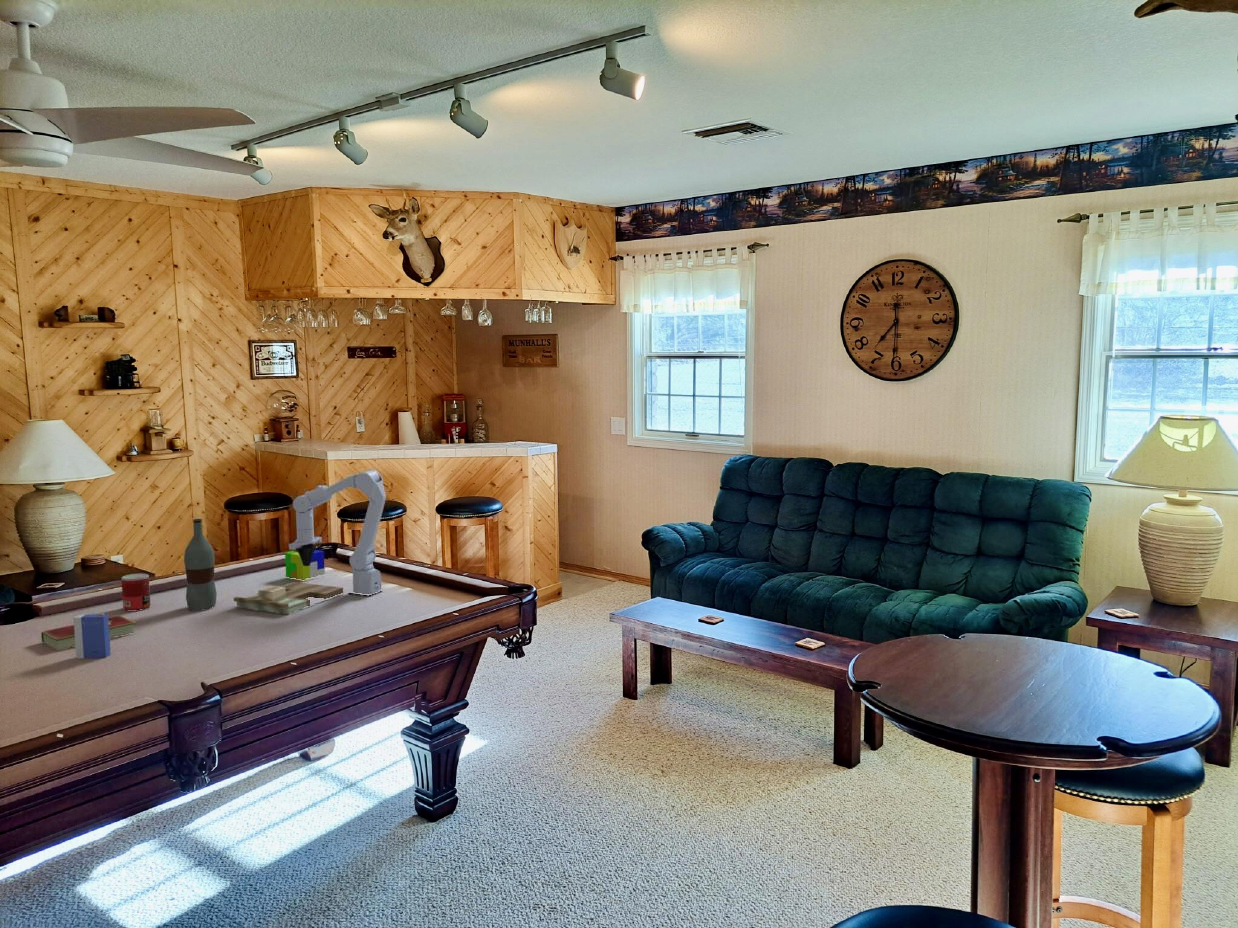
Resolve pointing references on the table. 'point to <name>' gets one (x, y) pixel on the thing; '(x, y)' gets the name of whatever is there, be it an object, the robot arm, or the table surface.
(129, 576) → the canned food
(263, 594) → the maple block
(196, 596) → the bottle
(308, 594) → the trap deck
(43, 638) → the hardcover book
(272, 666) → the table surface
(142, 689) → the table surface
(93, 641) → the walkman
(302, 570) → the puzzle toy
